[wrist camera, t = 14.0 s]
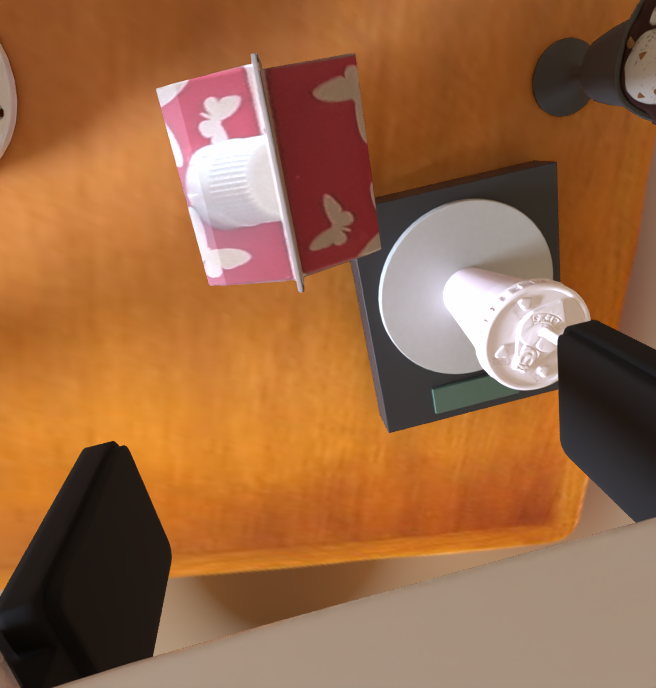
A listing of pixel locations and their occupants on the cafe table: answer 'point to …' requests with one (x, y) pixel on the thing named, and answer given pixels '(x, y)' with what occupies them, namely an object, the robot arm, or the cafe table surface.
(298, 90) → the juice carton
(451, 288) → the smoothie
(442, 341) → the scale
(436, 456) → the cafe table surface
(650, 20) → the sundae
